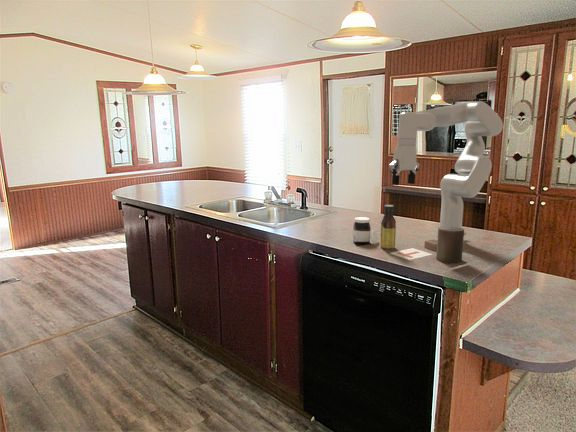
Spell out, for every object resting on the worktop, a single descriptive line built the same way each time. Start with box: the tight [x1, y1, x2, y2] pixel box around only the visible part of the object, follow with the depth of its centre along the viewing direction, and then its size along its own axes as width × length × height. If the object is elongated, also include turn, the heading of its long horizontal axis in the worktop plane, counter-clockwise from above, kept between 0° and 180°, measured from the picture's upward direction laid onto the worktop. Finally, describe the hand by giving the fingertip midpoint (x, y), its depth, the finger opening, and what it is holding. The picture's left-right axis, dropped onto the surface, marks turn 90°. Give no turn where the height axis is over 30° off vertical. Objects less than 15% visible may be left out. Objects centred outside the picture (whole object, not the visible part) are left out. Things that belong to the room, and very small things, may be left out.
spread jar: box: [352, 216, 379, 246], centre depth 192 cm, size 12×11×12 cm
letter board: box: [389, 247, 433, 261], centre depth 175 cm, size 14×11×1 cm
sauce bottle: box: [380, 204, 397, 251], centre depth 181 cm, size 6×6×20 cm
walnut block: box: [423, 238, 437, 252], centre depth 182 cm, size 6×6×4 cm
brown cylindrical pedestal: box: [435, 225, 465, 264], centre depth 165 cm, size 10×10×15 cm
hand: (403, 184), depth 176 cm, fingers open, 9 cm apart
